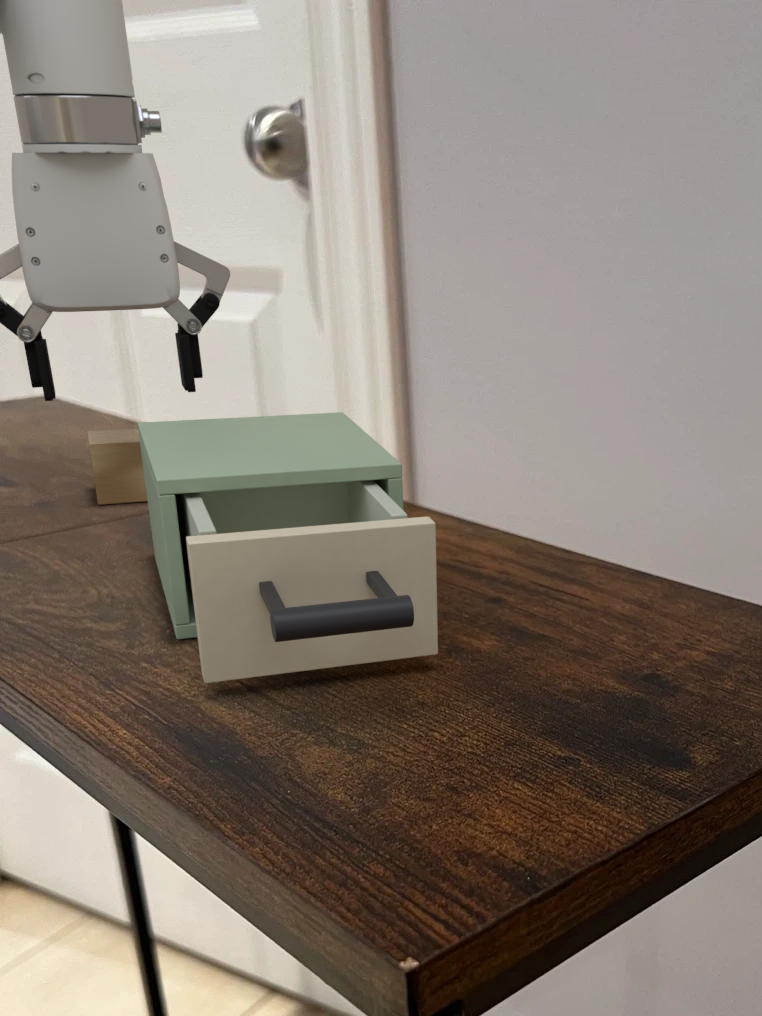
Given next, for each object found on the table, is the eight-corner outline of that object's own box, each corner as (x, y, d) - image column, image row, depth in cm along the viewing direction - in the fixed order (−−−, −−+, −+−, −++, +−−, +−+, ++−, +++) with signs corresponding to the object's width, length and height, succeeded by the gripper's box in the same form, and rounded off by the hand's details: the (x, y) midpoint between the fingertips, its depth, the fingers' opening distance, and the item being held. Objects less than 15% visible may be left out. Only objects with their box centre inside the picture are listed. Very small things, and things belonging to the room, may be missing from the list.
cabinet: (406, 614, 65) (402, 463, 61) (176, 640, 61) (156, 479, 57) (350, 541, 77) (343, 411, 74) (155, 558, 73) (137, 422, 69)
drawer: (473, 699, 53) (473, 558, 50) (220, 735, 49) (203, 584, 46) (374, 572, 69) (369, 459, 66) (177, 591, 65) (162, 472, 62)
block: (98, 505, 84) (88, 443, 82) (95, 490, 88) (87, 430, 86) (162, 500, 86) (154, 439, 84) (157, 485, 89) (149, 427, 87)
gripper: (207, 131, 82) (234, 377, 90) (-60, 129, 76) (-7, 392, 84) (220, 129, 76) (249, 394, 83) (-69, 126, 70) (-11, 411, 78)
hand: (120, 393), depth 84 cm, fingers open, 9 cm apart
